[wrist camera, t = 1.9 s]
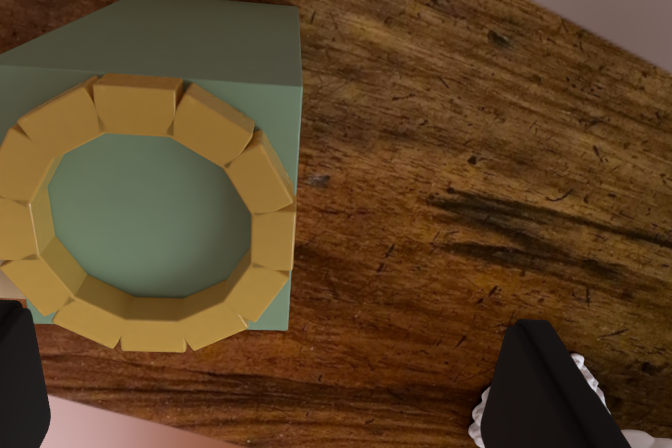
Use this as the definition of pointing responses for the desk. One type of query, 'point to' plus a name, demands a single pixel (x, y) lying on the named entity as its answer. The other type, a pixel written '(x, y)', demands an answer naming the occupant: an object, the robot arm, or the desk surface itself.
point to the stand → (163, 140)
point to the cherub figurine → (638, 440)
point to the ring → (147, 120)
